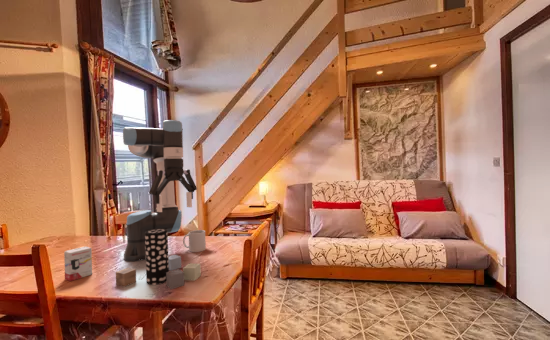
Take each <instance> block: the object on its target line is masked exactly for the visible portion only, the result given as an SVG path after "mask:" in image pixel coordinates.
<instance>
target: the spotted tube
mask: <svg viewBox="0 0 550 340" xmlns="http://www.w3.org/2000/svg"><path fill="white" fill-rule="evenodd" d="M168 236H169V233H168V231H167V229H153V230H149V231H146V232H145V249H146V259H145V272H146V273H145V275H146V276H145V277H146V280H145V281H146V284H147V285H150V286H151V285H152V286H155V285H160V284H165V283H167V282H166V272H170V270H169V262H168V257H169V237H168Z"/></svg>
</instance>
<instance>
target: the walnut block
mask: <svg viewBox="0 0 550 340" xmlns="http://www.w3.org/2000/svg"><path fill="white" fill-rule="evenodd" d="M136 282H137V269H136V268H132V267H126V268H124V269H120V270H118V271H115V285H116V286H119V287H124V288H125V287H126V286H131V284H134V283H136Z"/></svg>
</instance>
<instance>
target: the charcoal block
mask: <svg viewBox="0 0 550 340" xmlns="http://www.w3.org/2000/svg"><path fill="white" fill-rule="evenodd" d="M165 283H166V286H167V287H168V288H169V289H170V290H174V289H176V288H179V287H183V286H185V280H184V272H183V270H181V268H178V269H175V270H172V271H170V270H169V272H166V282H165Z"/></svg>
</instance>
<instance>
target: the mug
mask: <svg viewBox="0 0 550 340" xmlns="http://www.w3.org/2000/svg"><path fill="white" fill-rule="evenodd" d="M186 237H188V245H187V244H186V242H185V240H186ZM206 242H207V241H206V230H203V229H197V230H196V229H195V230H191V231H188V233H187V234H185V235H184V236H183V240H182V244H183V246H184V248H187V249H188V250H189V252H191V253H199V252H203V251H205V250H206V249H207V247H206Z"/></svg>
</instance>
